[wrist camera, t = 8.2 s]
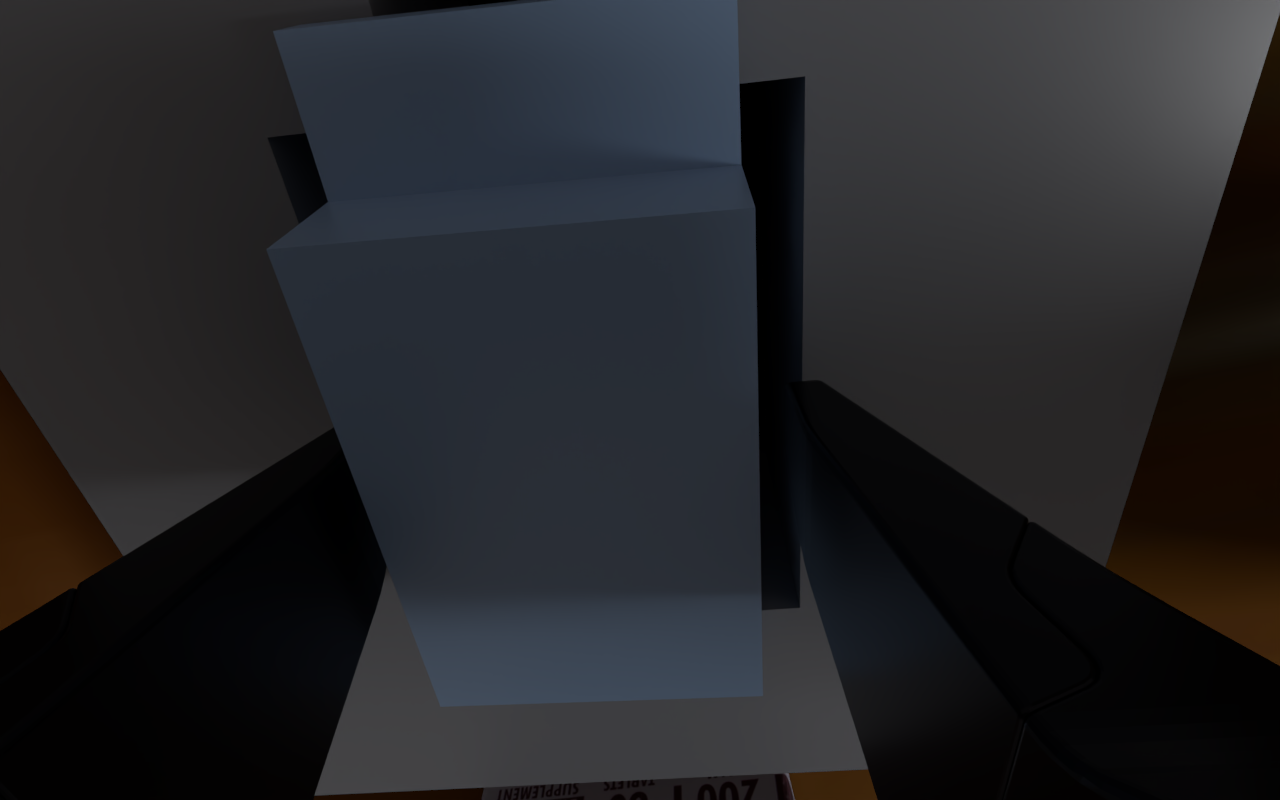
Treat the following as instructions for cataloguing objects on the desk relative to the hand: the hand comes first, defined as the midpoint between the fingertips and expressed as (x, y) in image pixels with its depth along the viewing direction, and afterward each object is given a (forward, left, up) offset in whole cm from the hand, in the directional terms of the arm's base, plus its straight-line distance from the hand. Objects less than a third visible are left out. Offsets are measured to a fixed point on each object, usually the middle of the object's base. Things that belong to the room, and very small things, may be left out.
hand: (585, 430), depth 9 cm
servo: (0, 0, -4) cm, 4 cm away
